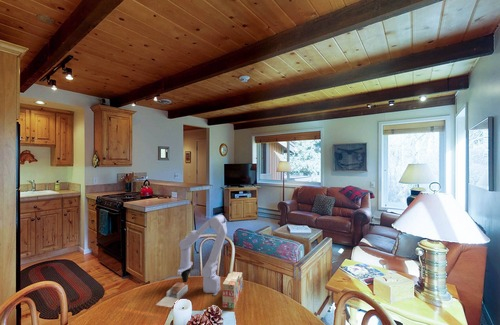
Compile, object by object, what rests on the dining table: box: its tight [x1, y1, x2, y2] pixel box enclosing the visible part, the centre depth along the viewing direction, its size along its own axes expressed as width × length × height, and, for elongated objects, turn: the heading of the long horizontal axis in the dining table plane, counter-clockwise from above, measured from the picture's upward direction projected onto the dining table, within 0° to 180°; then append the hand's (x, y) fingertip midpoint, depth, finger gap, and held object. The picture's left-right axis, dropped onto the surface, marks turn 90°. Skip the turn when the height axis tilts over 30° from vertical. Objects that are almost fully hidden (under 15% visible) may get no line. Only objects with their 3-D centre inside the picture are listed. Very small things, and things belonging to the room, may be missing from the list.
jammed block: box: [171, 281, 185, 294], centre depth 129 cm, size 5×5×4 cm
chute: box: [155, 284, 190, 308], centre depth 124 cm, size 9×18×4 cm, turn 167°
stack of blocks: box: [222, 271, 244, 310], centre depth 126 cm, size 21×6×12 cm, turn 170°
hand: (185, 281), depth 136 cm, fingers closed
